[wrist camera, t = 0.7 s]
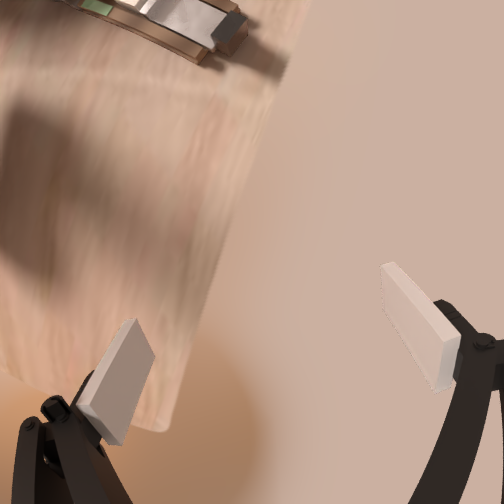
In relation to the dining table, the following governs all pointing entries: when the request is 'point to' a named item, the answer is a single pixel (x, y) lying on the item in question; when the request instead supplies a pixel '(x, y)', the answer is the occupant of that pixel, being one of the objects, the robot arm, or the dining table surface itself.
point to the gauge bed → (149, 24)
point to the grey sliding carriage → (199, 23)
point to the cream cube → (132, 5)
